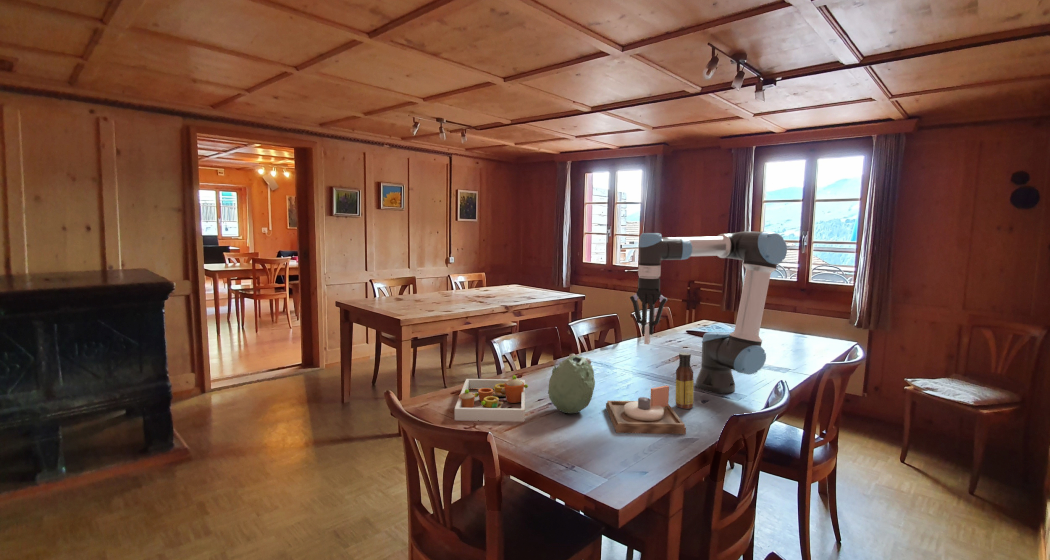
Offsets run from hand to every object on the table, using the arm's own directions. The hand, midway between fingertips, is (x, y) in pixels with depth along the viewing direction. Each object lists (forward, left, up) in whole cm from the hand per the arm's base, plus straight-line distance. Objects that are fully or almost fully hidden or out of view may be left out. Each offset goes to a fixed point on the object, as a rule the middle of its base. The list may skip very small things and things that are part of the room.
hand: (647, 343), depth 181 cm
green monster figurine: (+27, +4, -24) cm, 36 cm away
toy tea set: (+55, -3, -24) cm, 60 cm away
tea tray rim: (+55, -3, -24) cm, 60 cm away
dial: (+1, +9, -22) cm, 24 cm away
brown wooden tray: (+3, +11, -24) cm, 27 cm away
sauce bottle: (-15, -3, -24) cm, 29 cm away
